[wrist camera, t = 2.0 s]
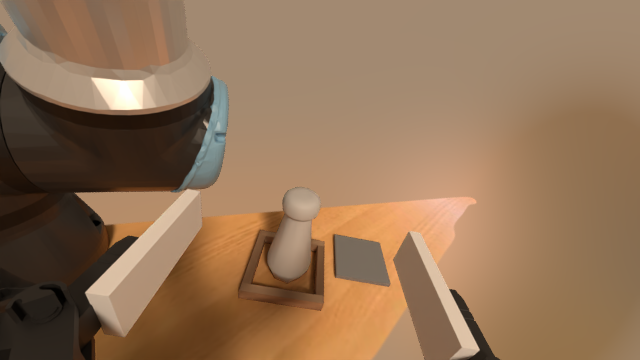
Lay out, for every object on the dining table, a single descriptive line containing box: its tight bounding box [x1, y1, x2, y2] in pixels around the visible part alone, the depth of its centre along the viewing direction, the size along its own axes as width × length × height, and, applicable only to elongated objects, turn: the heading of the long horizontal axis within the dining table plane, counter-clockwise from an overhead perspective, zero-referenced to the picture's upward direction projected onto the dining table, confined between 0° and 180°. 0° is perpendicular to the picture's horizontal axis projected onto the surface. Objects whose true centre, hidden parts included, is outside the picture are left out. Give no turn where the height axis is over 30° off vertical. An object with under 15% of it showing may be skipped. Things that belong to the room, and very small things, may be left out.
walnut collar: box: [239, 230, 324, 311], centre depth 32 cm, size 10×10×2 cm
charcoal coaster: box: [334, 234, 390, 287], centre depth 36 cm, size 8×8×1 cm
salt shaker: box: [267, 187, 321, 283], centre depth 29 cm, size 6×6×13 cm
